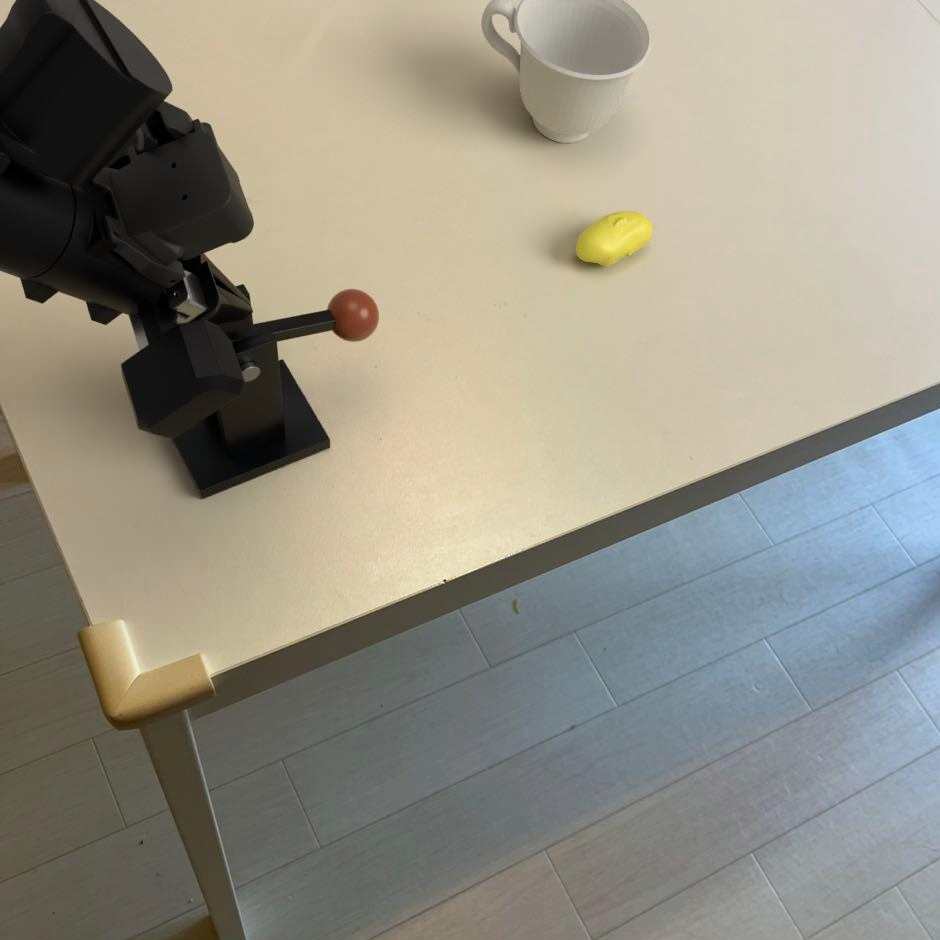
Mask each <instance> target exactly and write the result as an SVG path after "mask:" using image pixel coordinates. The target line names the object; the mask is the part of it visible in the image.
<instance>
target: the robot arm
mask: <svg viewBox="0 0 940 940" xmlns="http://www.w3.org/2000/svg"><path fill="white" fill-rule="evenodd" d="M173 91H174V90H173V83H172V81H171V79H170V76H169V75H168V73H167V71H166V70H165V68H164V67H163V66H162V64H161V63H160V62H159V61H158V59H157V57H155V55H154V53H152V52H151V50H150V49H149V48H148V47H147V45H145V44H144V42H143V41H142V40H141V39H140V38H139V37H138V36H137V35H136V34H135V33H134V32H133V31H132V30H131V29H129V27H128V26H126V25H125V23H124V22H122V21H121V20H120V19H119V18H117V16H115V15H114V14H113V13H112V12H110V11H109V9H107V8H105V7H104V6H103V5H101V3H99V2H98V1H97V0H15V1H14V2H13V4H12V6H11V7H10V10H9V12H8V14H7V16H6V19H5V20H4V21H3V23H2V25H1V26H0V272H2V273H5V274H7V275H10V276H13V277H16V278H19V281H20V283H21V287H22V290H23V293H24V297H25V299H27V300H30V301H33V302H36V303H39V304H42V305H43V304H44V303H46V302H48V300H50V299H51V298H53V297H54V296H56V295H57V294H58V293H61V294H63V295H67V296H69V297H73V298H75V299H78V300H80V301H83V302H85V305H86V308H87V311H88V315H89V318H90V321H91V322H95V323H98V324H100V325H104V326H107V325H109V324H110V323H111V322H113V321H114V320H115V319H117V318H118V317H119V316H121V315H122V314H124V315H127V316H128V319H129V321H130V325H131V328H132V331H133V334H134V337H135V341H136V344H137V347H138V351H137V352H136V353H134V354H133V355H132V356H130V357H128V358H127V359H126V360H124V361H122V362H121V363H120V370H121V376H122V381H123V383H124V387H125V390H126V393H127V396H128V401H129V404H130V406H131V410H132V413H133V417H134V419H135V422H136V423H135V424H136V426H137V429H138V430H140V431H143V432H146V433H148V434H151V435H155V436H160V437H164V438H169V439H170V438H172V439H174V438H175V437H177V436H178V435H180V434H181V433H183V432H184V431H186V430H187V429H189V428H191V427H192V426H194V425H195V424H197V423H198V422H200V421H201V420H203V419H204V418H206V417H207V416H209V415H211V414H212V413H214V412H215V411H217V410H218V409H220V408H221V407H223V406H224V405H226V404H227V403H229V402H231V401H232V400H234V399H235V398H237V397H238V396H240V394H241V391H242V388H243V385H244V382H245V380H244V378H243V375H242V372H241V369H240V366H239V363H238V360H237V357H236V354H235V351H234V348H233V345H232V342H231V340H230V339H229V338H228V337H227V336H226V335H225V333H224V332H223V331H222V330H221V329H220V328H219V327H218V326H217V325H218V324H223V323H229V322H234V321H240V320H243V319H245V318H246V317H248V316H249V315H251V314H252V315H253V313H254V310H253V307H252V304H250V301H251V300H250V301H249V300H248V299H247V298H246V297H245V296H244V295H243V294H242V293H241V291H240V290H239V289H238V288H237V287H236V286H237V285H235V284H234V283H233V282H232V281H231V280H230V279H229V278H228V277H227V275H225V274H224V273H223V272H222V271H221V269H219V268H218V267H217V266H216V265H215V263H214V262H213V261H211V259H210V258H209V257H208V255H206V253H208V252H211V251H214V250H216V249H219V248H220V247H224V246H225V245H228V244H236V243H238V242H241V241H243V240H245V239H246V238H247V237H249V236H250V234H251V233H252V232H253V229H254V226H255V220H254V216H253V213H252V210H251V209H250V207H249V205H248V201H247V199H246V196H245V193H244V190H243V188H242V185H241V182H240V181H241V180H240V177H239V175H238V173H237V171H236V169H235V168H234V167H233V165H232V164H231V162H230V161H229V159H228V157H227V156H226V155H225V153H224V152H223V151H222V149H221V147H220V146H219V144H218V141H217V138H216V135H215V133H214V129H213V127H212V125H211V124H210V123H209V122H205V121H204V122H202V121H201V120H200V118H196V119H194V120H193V118H192V117H191V116H190V114H189V113H188V112H187V111H186V110H184V109H182V108H180V107H178V106H176V105H174V104H172V103H170V102H168V101H165V100H166V99H167V98H169V96H170V94H171V93H172V92H173Z"/></svg>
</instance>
